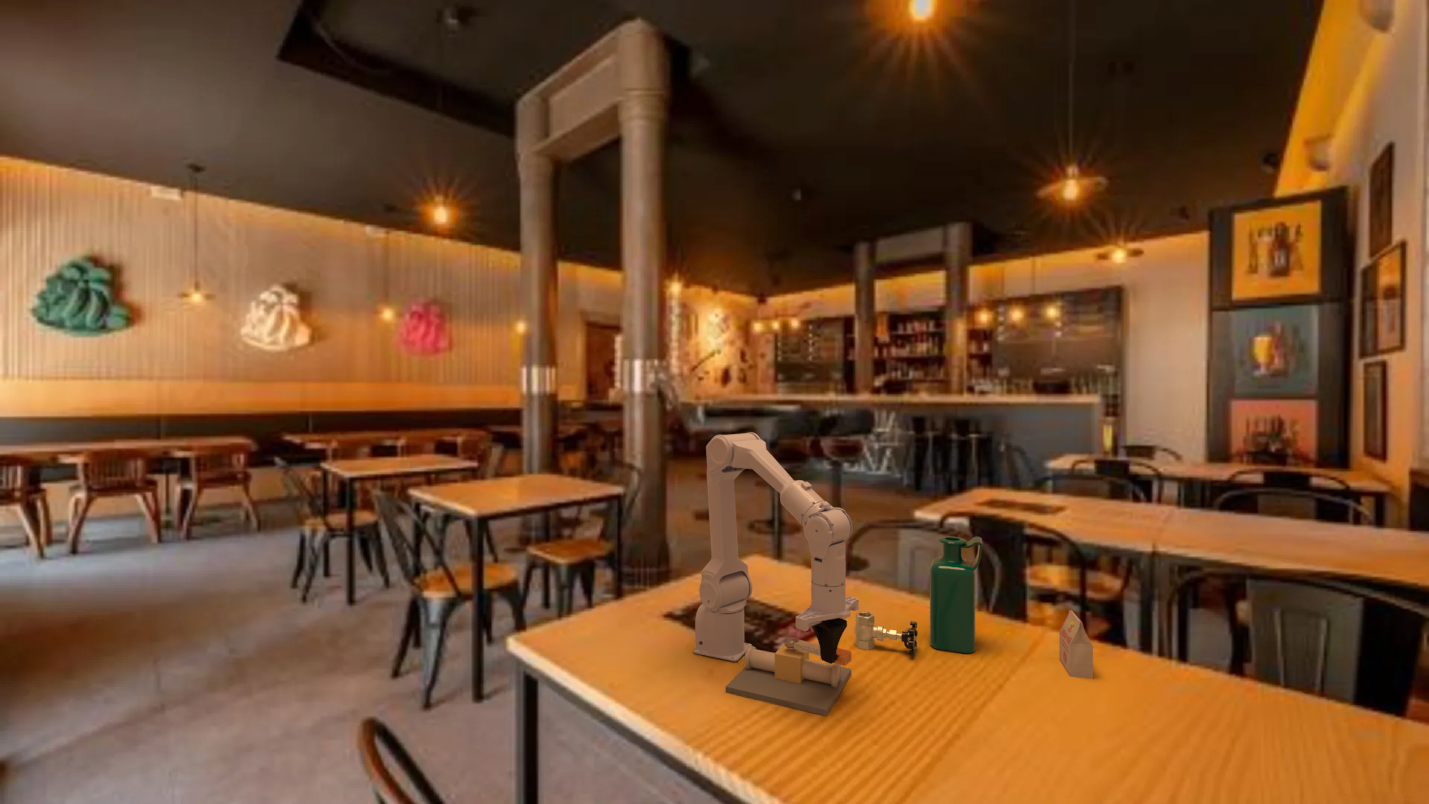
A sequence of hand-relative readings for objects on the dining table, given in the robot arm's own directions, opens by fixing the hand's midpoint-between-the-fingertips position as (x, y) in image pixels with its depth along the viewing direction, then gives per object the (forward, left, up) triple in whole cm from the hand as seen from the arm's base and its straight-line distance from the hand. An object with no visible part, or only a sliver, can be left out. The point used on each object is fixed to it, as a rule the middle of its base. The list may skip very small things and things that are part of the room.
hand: (828, 661), depth 104 cm
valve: (+5, +24, -7) cm, 25 cm away
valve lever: (-3, +2, -1) cm, 4 cm away
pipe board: (-8, +3, -6) cm, 11 cm away
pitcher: (+17, +32, -7) cm, 37 cm away
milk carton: (+38, +30, -7) cm, 49 cm away
